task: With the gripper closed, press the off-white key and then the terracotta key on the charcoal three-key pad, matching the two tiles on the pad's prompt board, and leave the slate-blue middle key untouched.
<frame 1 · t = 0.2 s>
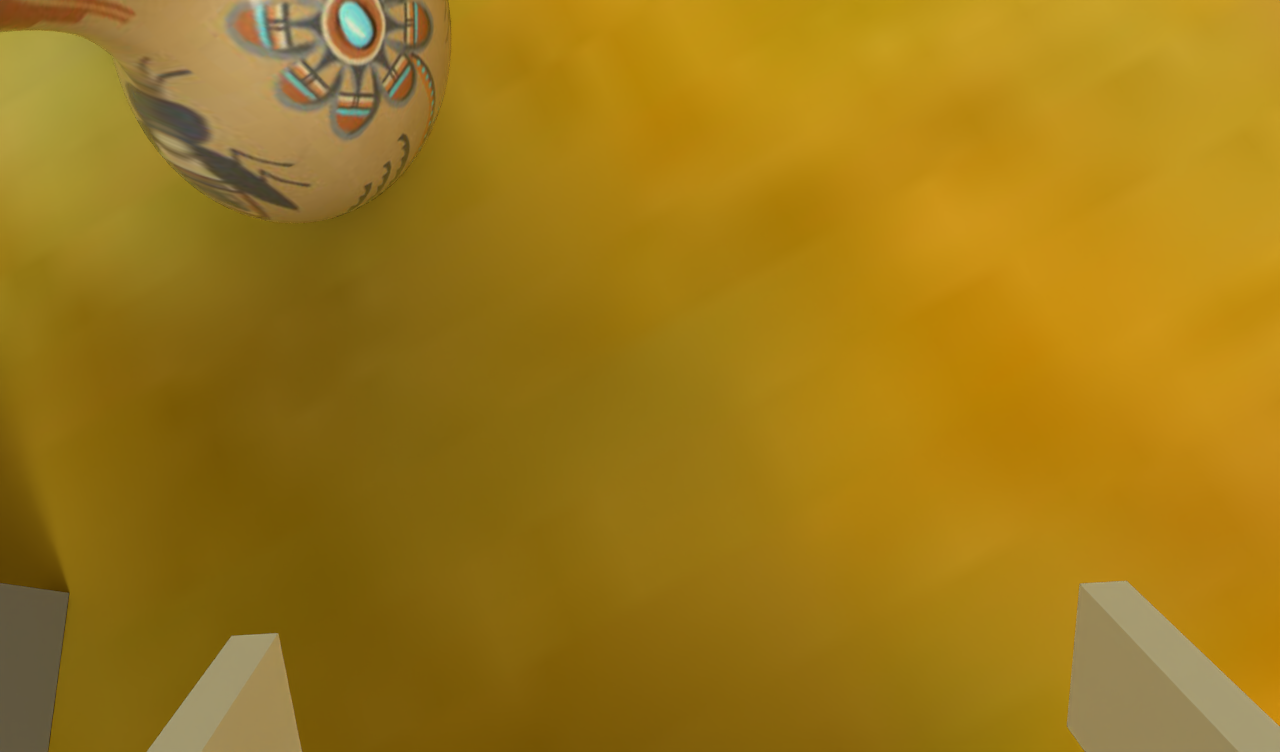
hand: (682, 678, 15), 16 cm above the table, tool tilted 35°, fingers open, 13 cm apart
ceramic vessel: (361, 149, 37), on the table
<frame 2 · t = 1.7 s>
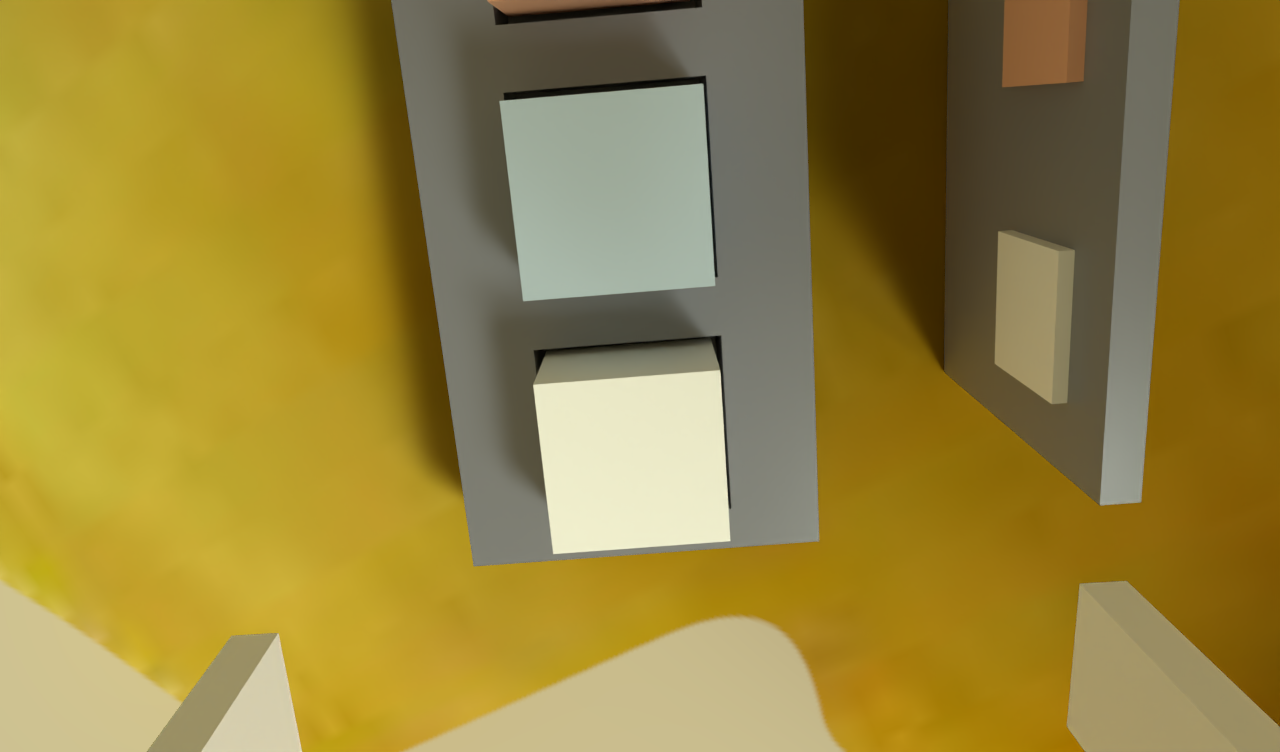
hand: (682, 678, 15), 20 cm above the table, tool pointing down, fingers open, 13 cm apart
keypad: (616, 178, 32), on the table
offwhite key: (634, 441, 29), point 5 cm above the table, slide at 0.0 cm
slate key: (612, 190, 27), point 5 cm above the table, slide at 0.0 cm
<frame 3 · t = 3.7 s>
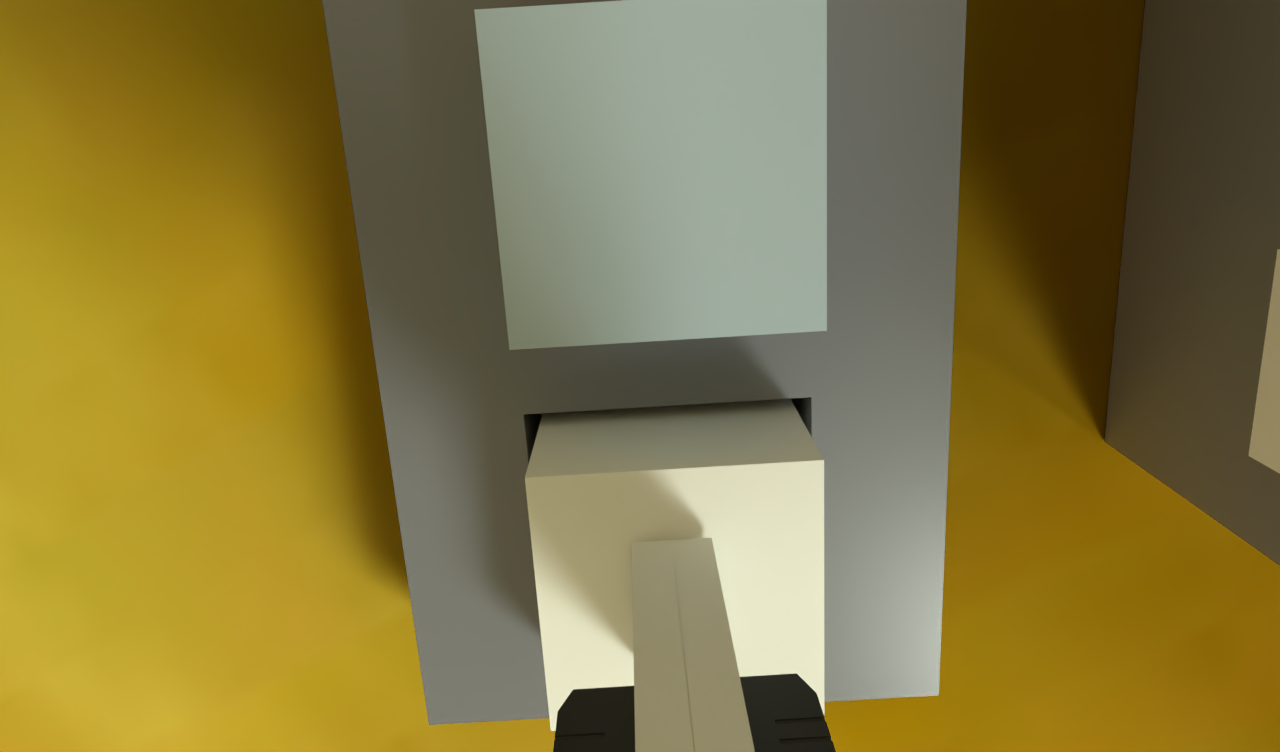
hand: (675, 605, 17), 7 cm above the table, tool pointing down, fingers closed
keypad: (650, 155, 22), on the table
offwhite key: (676, 552, 19), point 5 cm above the table, slide at 0.3 cm, touching gripper
slate key: (656, 170, 17), point 5 cm above the table, slide at 0.0 cm
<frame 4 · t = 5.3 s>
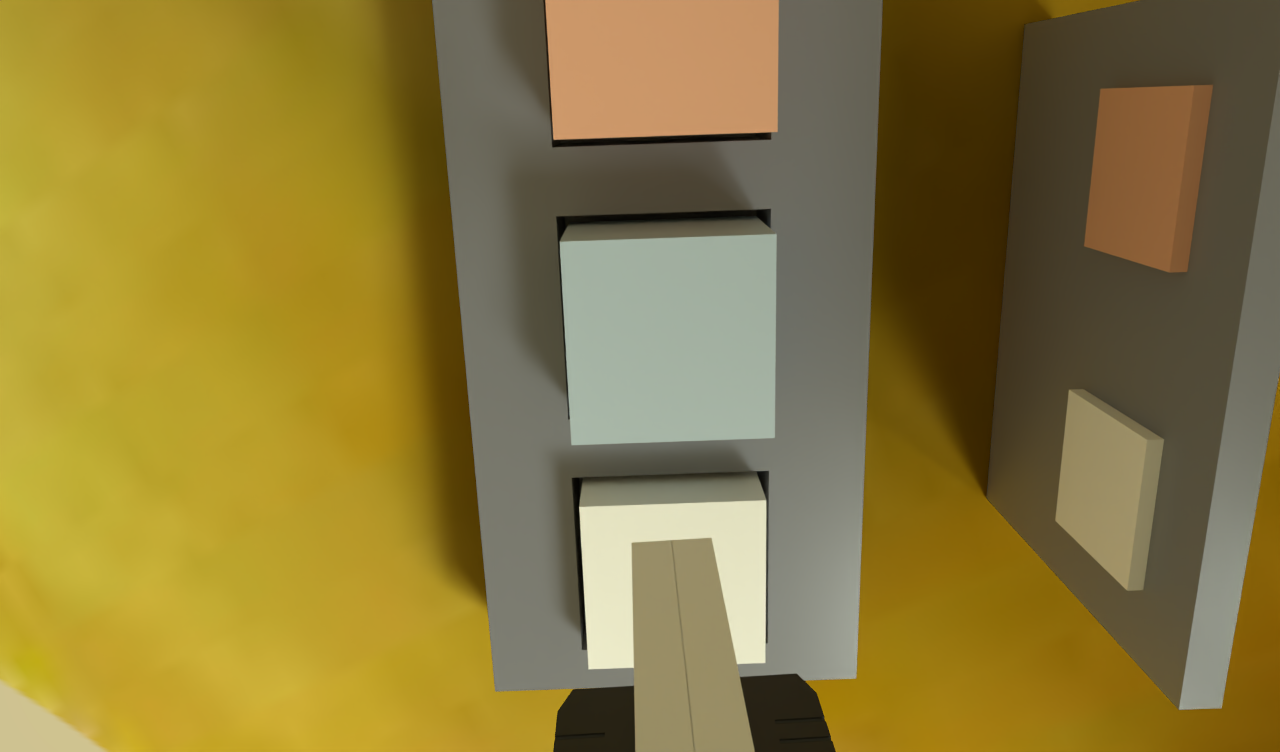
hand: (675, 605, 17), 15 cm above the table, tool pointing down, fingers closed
keypad: (661, 291, 31), on the table
offwhite key: (671, 555, 29), point 4 cm above the table, slide at 1.5 cm
slate key: (667, 325, 26), point 5 cm above the table, slide at 0.0 cm
terracotta key: (659, 23, 24), point 5 cm above the table, slide at 0.0 cm
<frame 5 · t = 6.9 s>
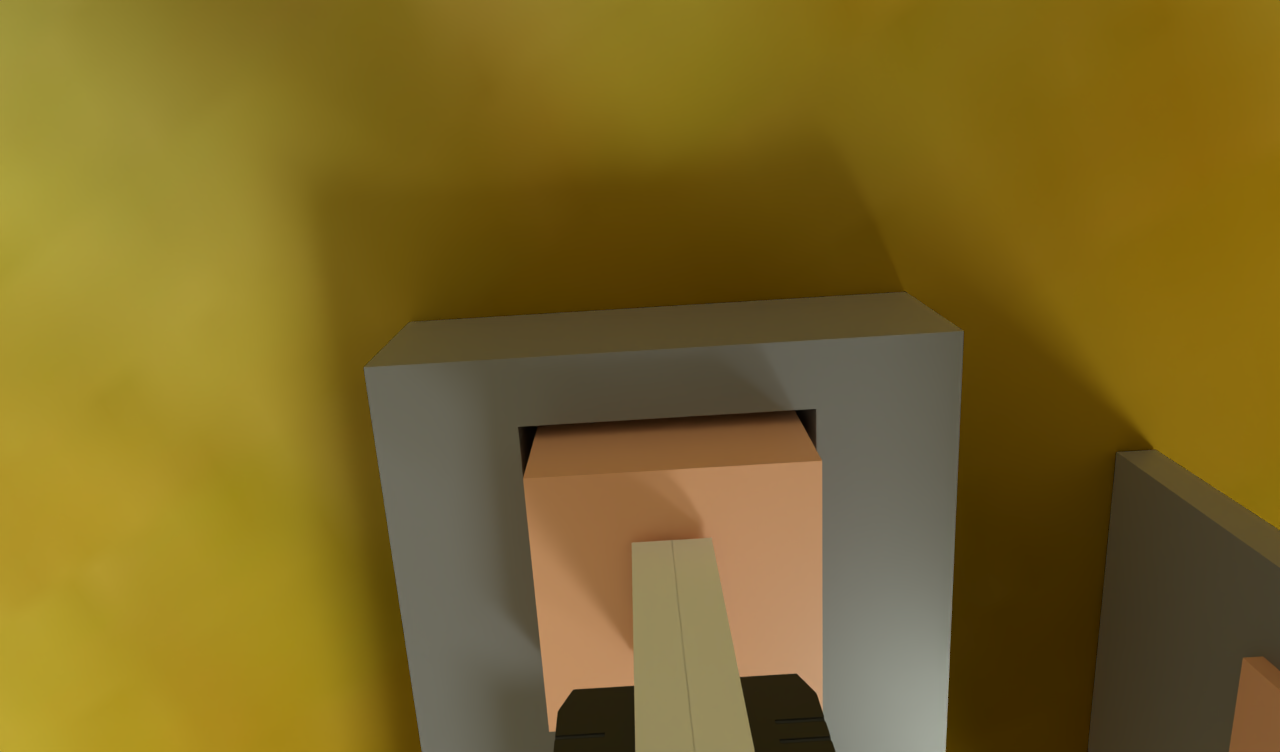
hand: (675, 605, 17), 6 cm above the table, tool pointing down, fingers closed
keypad: (680, 742, 26), on the table
terracotta key: (674, 553, 19), point 4 cm above the table, slide at 1.0 cm, touching gripper
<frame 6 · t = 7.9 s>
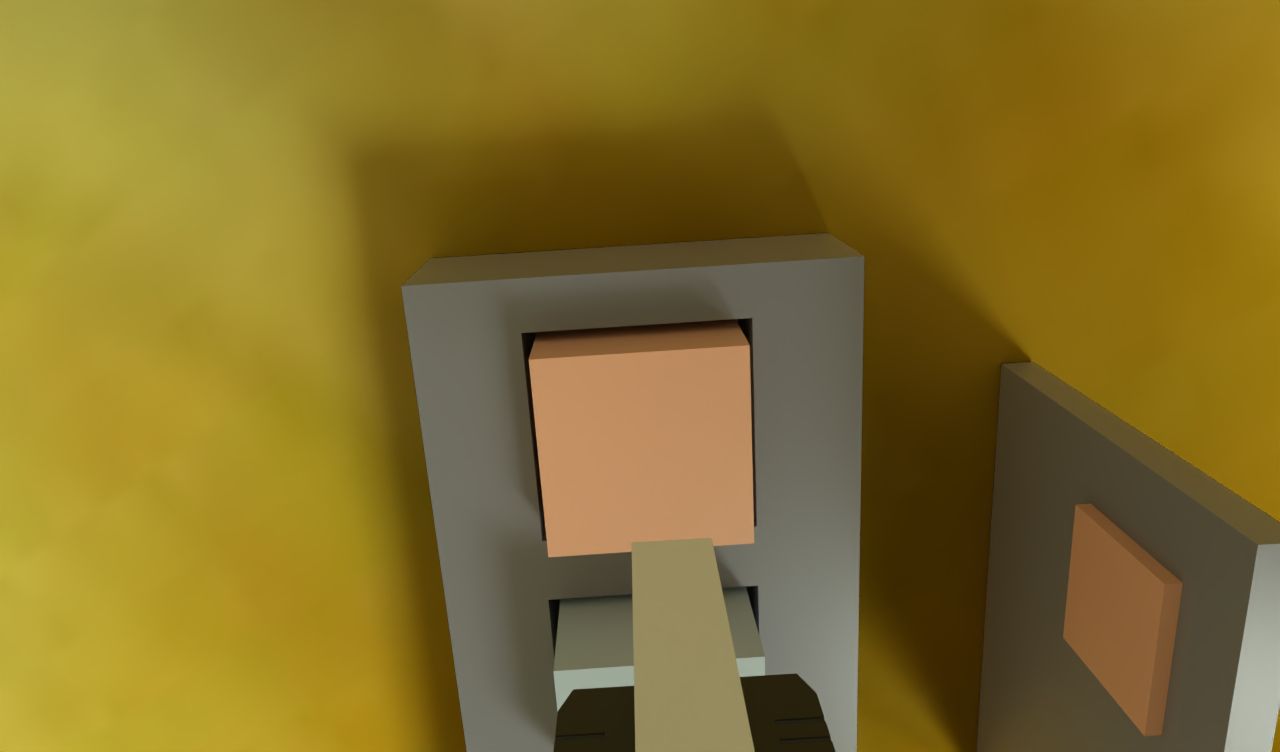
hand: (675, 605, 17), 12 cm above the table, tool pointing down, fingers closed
keypad: (652, 609, 31), on the table
slate key: (660, 703, 26), point 5 cm above the table, slide at 0.0 cm
terracotta key: (642, 427, 25), point 4 cm above the table, slide at 1.5 cm
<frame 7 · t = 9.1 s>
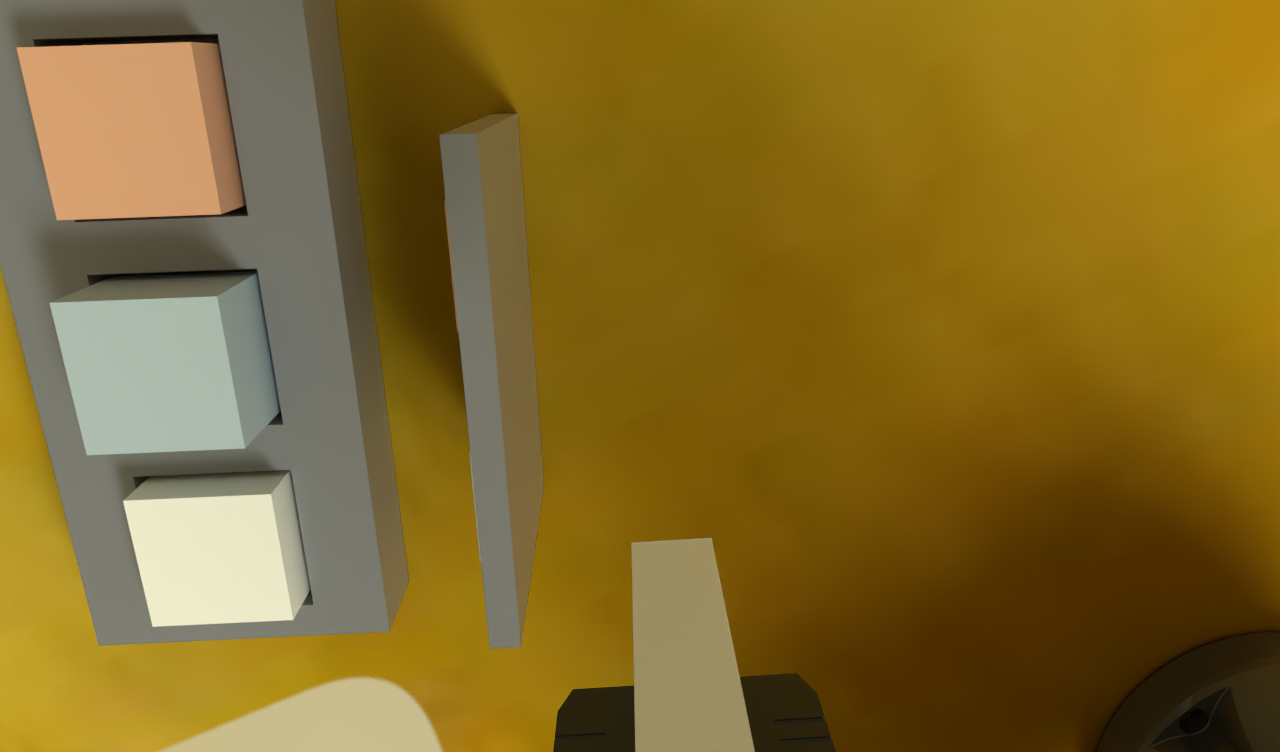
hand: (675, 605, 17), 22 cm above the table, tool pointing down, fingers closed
keypad: (229, 323, 38), on the table
offwhite key: (230, 536, 37), point 4 cm above the table, slide at 1.5 cm
slate key: (176, 360, 33), point 5 cm above the table, slide at 0.0 cm
terracotta key: (150, 129, 32), point 4 cm above the table, slide at 1.5 cm
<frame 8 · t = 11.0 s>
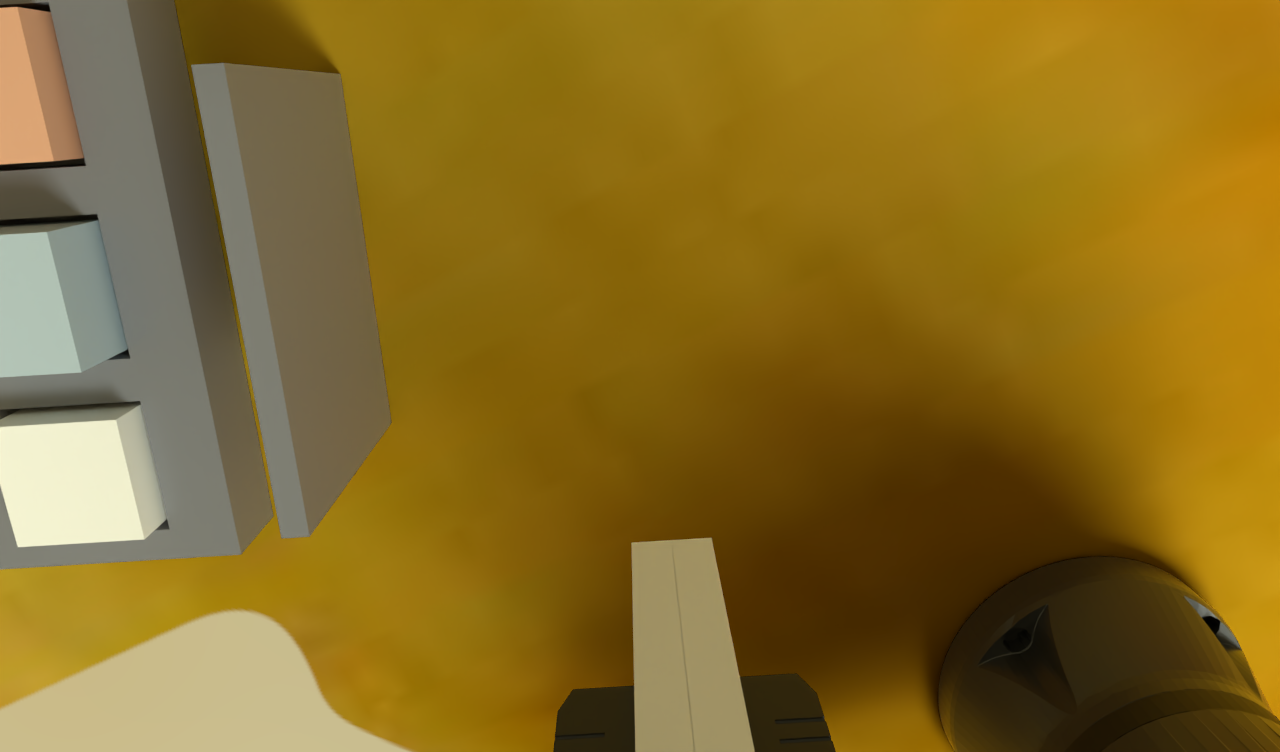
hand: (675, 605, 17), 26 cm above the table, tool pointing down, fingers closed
keypad: (94, 274, 42), on the table
offwhite key: (92, 466, 41), point 4 cm above the table, slide at 1.5 cm
slate key: (25, 297, 37), point 5 cm above the table, slide at 0.0 cm
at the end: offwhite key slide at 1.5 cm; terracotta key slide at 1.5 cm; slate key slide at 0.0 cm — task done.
